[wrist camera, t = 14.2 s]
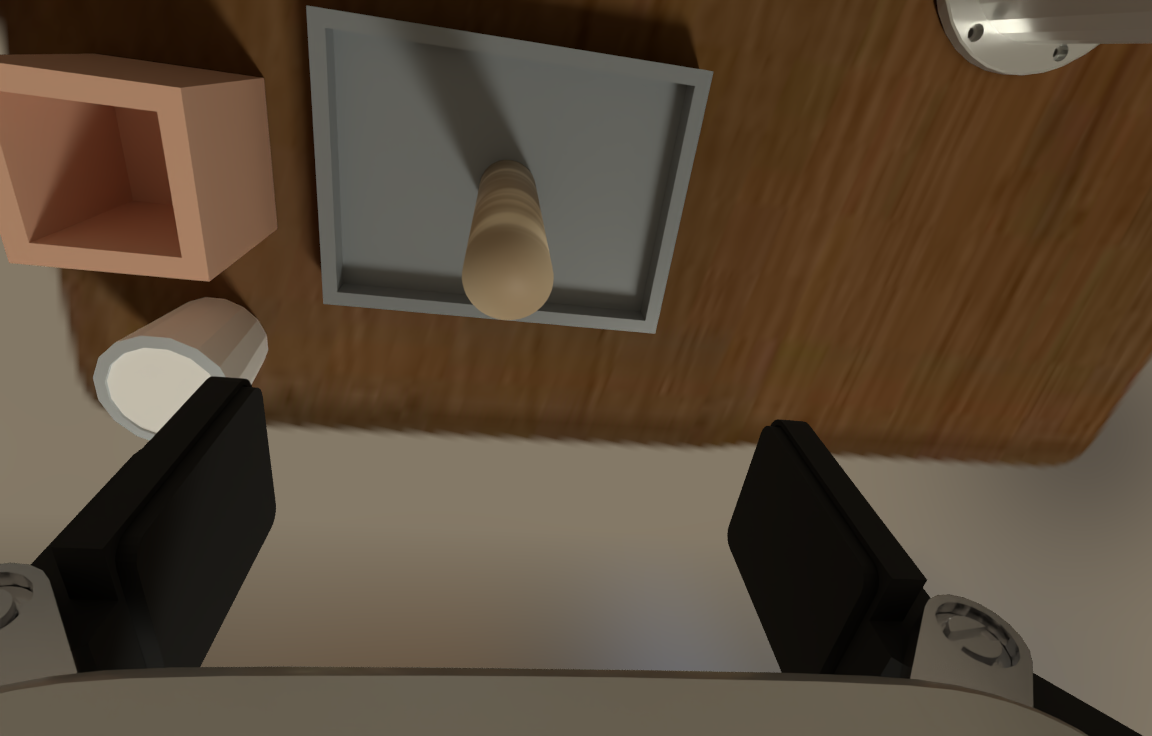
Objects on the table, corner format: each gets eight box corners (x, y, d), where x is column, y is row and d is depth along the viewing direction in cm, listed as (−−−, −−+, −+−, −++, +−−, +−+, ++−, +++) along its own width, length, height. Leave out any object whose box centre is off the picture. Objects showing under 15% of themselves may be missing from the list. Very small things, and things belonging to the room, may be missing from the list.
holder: (263, 77, 31) (180, 87, 23) (277, 228, 35) (209, 281, 27) (94, 53, 30) (-55, 55, 22) (126, 212, 34) (9, 262, 26)
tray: (699, 69, 33) (713, 71, 31) (647, 317, 40) (655, 333, 38) (321, 8, 30) (306, 5, 28) (334, 288, 37) (323, 303, 35)
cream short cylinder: (163, 273, 35) (91, 320, 29) (285, 305, 37) (241, 356, 31) (158, 370, 38) (91, 432, 32) (271, 396, 40) (228, 459, 34)
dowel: (502, 147, 33) (498, 214, 20) (547, 184, 34) (572, 270, 21) (468, 193, 34) (443, 285, 21) (513, 228, 35) (516, 336, 22)
